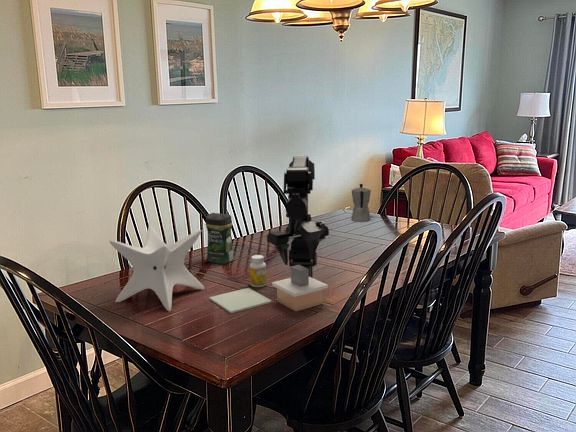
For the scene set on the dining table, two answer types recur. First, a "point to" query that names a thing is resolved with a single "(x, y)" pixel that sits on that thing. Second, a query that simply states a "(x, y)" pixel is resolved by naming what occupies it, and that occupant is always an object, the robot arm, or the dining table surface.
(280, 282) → the lid
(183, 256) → the white spiked star
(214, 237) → the coffee jar
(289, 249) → the robot arm
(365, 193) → the coffeepot
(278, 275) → the dining table surface
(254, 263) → the supplement bottle
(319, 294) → the open wooden box
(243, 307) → the mat
